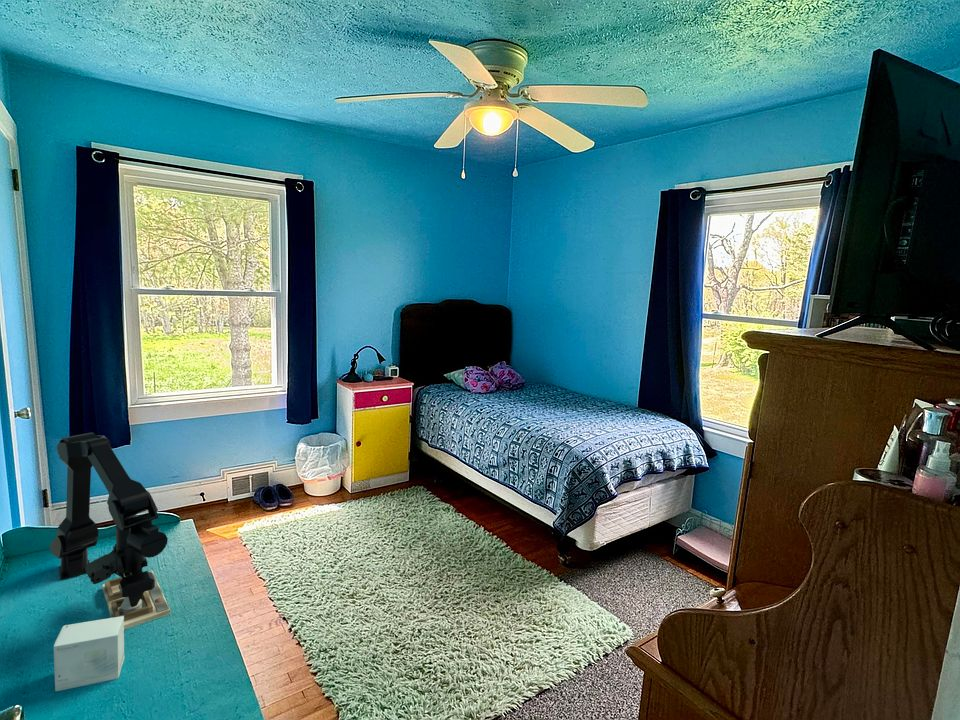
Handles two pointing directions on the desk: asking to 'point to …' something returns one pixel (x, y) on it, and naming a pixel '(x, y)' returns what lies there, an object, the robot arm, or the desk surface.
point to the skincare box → (89, 653)
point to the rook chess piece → (129, 606)
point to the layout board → (150, 610)
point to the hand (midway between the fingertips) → (131, 600)
